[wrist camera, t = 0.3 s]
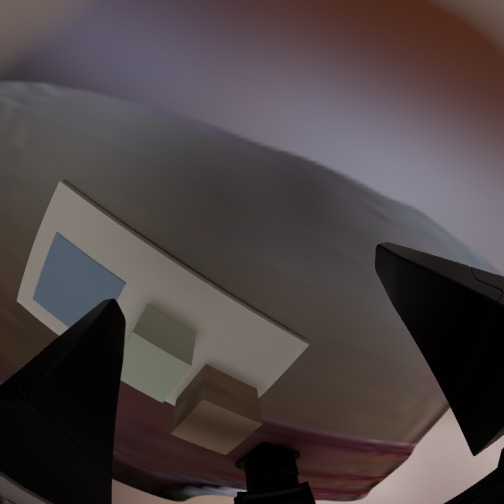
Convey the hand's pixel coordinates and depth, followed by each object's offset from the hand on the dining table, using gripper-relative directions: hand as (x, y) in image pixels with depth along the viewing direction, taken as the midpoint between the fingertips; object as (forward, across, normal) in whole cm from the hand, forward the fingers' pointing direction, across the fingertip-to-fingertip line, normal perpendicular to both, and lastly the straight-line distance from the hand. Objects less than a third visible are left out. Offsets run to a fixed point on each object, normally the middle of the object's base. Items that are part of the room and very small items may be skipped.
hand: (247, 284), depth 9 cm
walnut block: (+10, +6, +19) cm, 23 cm away
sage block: (+12, +9, +12) cm, 19 cm away
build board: (+13, +10, +11) cm, 19 cm away
